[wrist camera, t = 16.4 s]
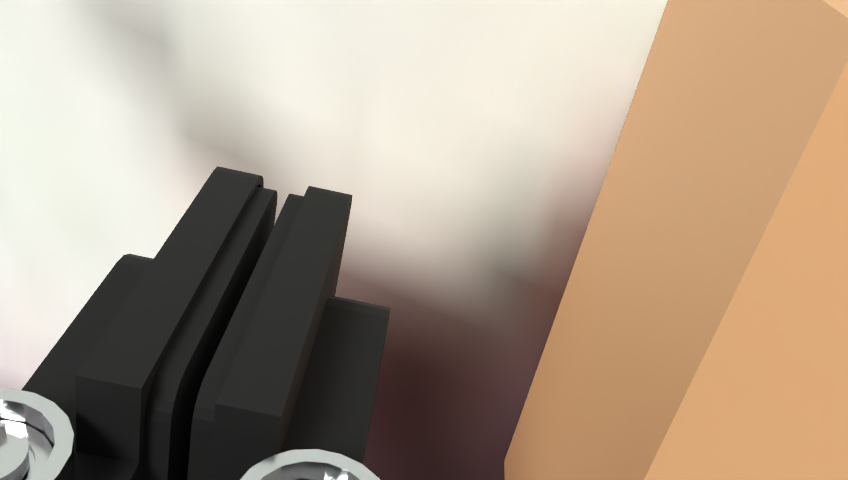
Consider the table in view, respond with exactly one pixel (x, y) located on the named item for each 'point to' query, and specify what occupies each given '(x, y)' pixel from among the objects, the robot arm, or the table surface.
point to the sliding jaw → (710, 265)
